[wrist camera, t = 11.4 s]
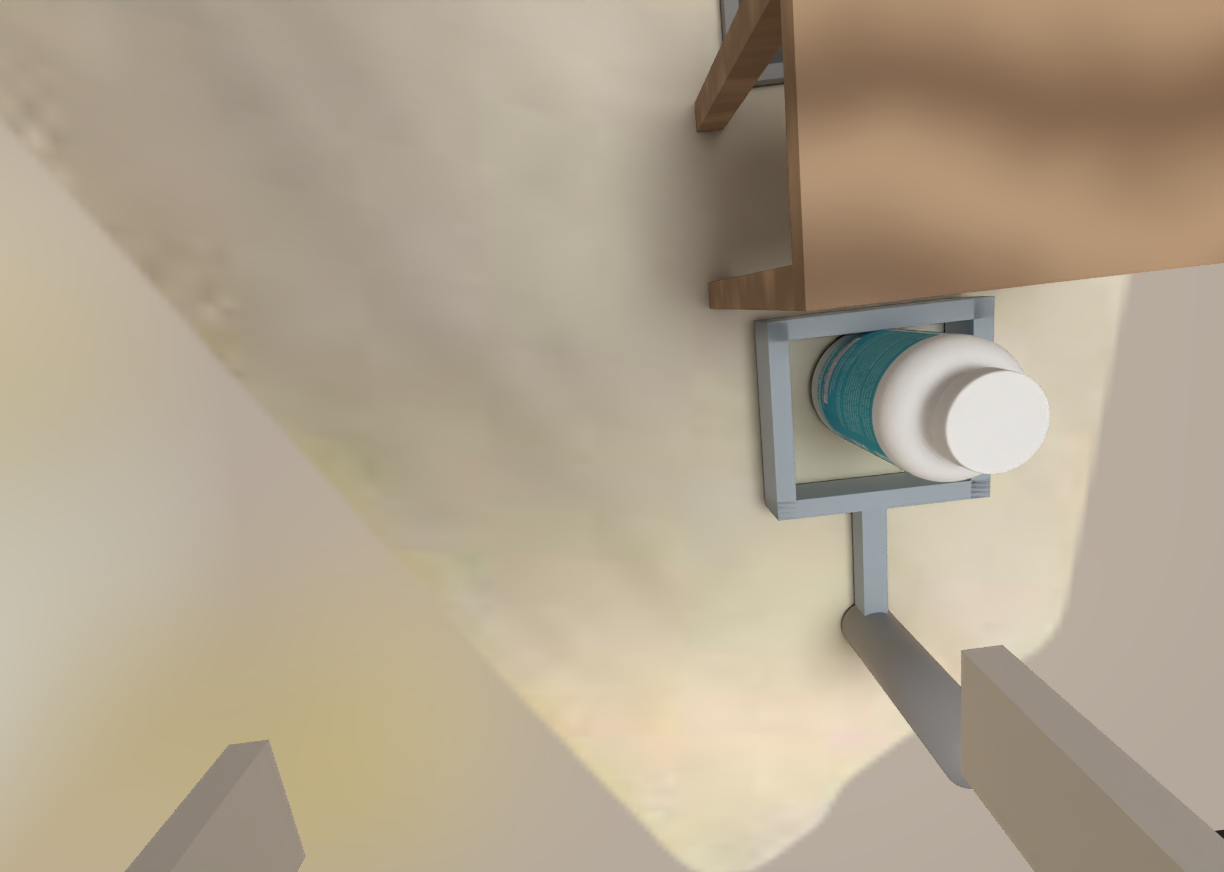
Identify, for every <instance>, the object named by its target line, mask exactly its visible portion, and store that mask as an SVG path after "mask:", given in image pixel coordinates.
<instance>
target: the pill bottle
mask: <svg viewBox="0 0 1224 872" xmlns="http://www.w3.org/2000/svg"><path fill="white" fill-rule="evenodd" d="M812 399H813V404H814V407H815V409H816V412H817V414H818V416H819V417H820V419H821V420H822V422H823V423H824V424H825V425H826V426H827V427H828V428H829V429H830V430H831V431H833V432H834V433H836V434H837V435H839V436H841V437H842V438H844V439H846V440H848V441H850V442H852V443H854V444H855V445H857V446H859V447H861V448H863V449H865V450H867V451H869V452H870V453H872V454H874V455H876V456H878V457H880V458H882V459H884V460H886V461H887V462H889V463H891V464H893V465H895V466H897V467H899V468H900V469H902V470H904V471H906V472H908V473H910V474H912V475H914V476H916V477H919V478H922V479H925V480H930V481H935V482H955V481H961V480H966V479H969V478H973V477H975V476H978V475H980V474H998V473H1003V472H1006V471H1010V470H1012V469H1014V468H1016V467H1018V466H1020V465H1021V464H1023V463H1024V462H1026V461H1027V460H1028V459H1029V458H1030V457H1032V456H1033V455H1034V453H1035V452H1036V451H1037V450H1038V449H1039V447H1040V445H1041V444H1042V442H1043V440H1044V438H1045V436H1046V433H1047V430H1048V426H1049V420H1050V409H1049V404H1048V401H1047V398H1046V396H1045V394H1044V392H1043V390H1042V389H1041V387H1040V386H1039V385H1038V384H1037V383H1036V382H1035V381H1034V380H1032V379H1031V378H1030V377H1028V376H1026V375H1025V374H1024V371H1023V370H1022V368H1021V366H1020V365H1019V363H1018V362H1017V361H1016V359H1015V358H1014V357H1013V356H1012V355H1011V354H1010V353H1009V352H1008V351H1007V350H1005V349H1004V348H1003V347H1001V346H1000V345H998V344H996V343H994V342H992V341H990V340H988V339H985V338H982V337H978V336H974V335H967V334H957V333H943V332H929V331H916V330H903V329H884V330H875V331H867V332H858V333H849V334H847V335H845V336H843V337H841V338H840V339H838V340H837V341H836V342H835V343H833V344H832V345H831V346H830V347H829V348H828V349H827V350H826V352H825V353H824V354H823V356H822V357H821V359H820V360H819V362H818V364H817V366H816V369H815V372H814V375H813V380H812Z"/></svg>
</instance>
